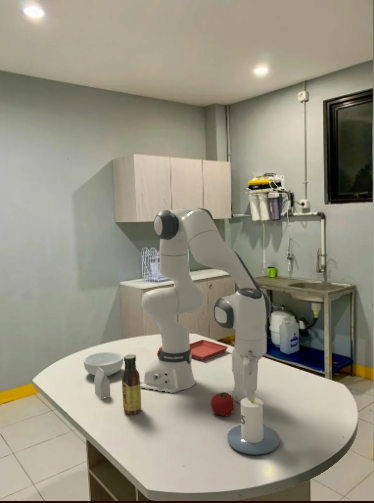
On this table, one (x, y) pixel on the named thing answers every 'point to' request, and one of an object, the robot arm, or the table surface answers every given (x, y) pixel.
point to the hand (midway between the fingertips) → (251, 391)
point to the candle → (252, 420)
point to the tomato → (222, 404)
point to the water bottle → (238, 377)
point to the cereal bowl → (103, 362)
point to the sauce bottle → (131, 386)
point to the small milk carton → (102, 384)
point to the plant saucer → (206, 349)
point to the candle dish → (259, 448)
